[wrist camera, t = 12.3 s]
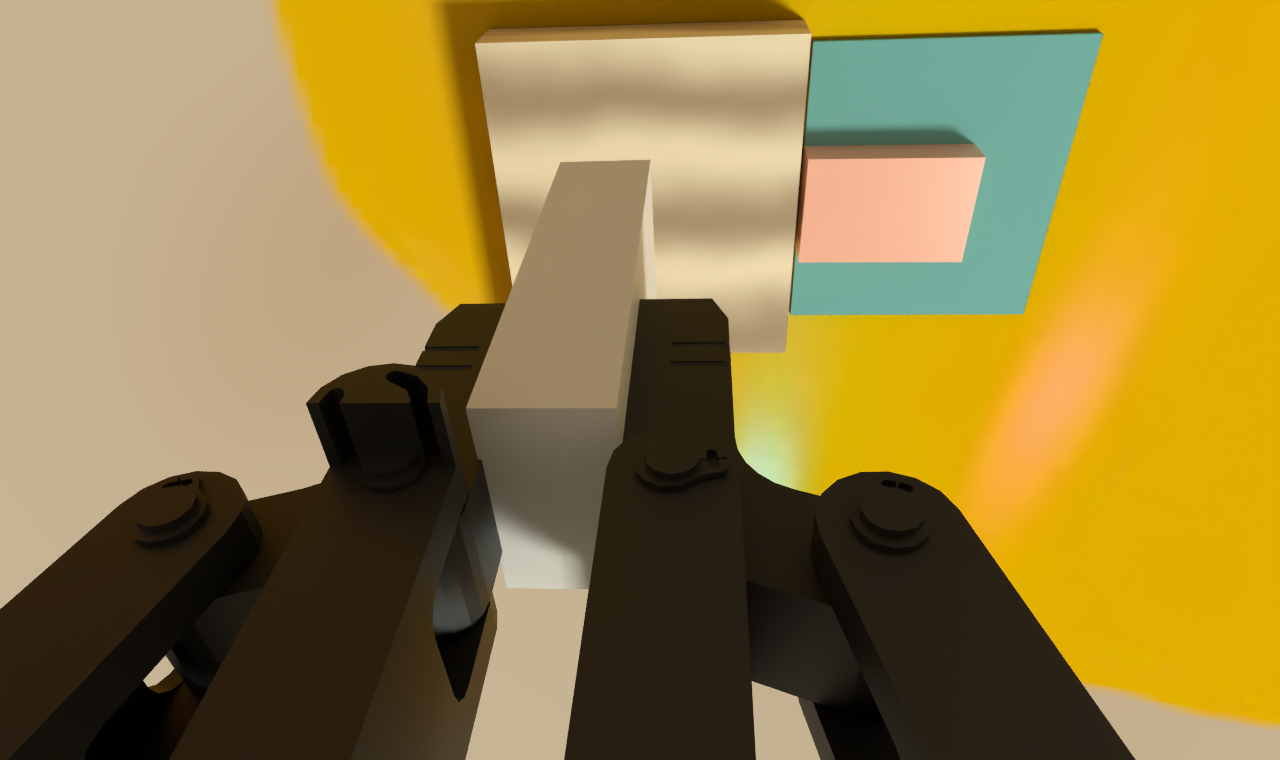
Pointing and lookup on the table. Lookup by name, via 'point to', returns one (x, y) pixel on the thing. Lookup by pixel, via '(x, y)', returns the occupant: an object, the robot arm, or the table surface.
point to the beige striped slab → (665, 146)
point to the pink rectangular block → (887, 202)
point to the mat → (952, 114)
